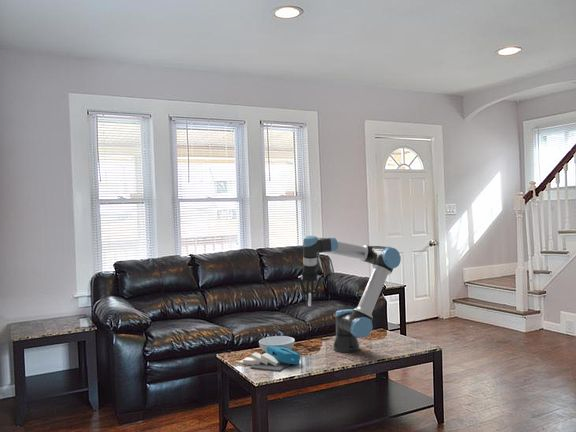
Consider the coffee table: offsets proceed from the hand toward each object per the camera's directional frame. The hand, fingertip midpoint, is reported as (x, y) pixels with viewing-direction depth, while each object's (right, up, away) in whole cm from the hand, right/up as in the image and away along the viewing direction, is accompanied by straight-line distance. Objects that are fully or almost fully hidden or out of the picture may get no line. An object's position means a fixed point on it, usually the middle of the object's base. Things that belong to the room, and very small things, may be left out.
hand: (309, 305), depth 282 cm
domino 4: (-17, -29, -12) cm, 35 cm away
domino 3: (-22, -29, -9) cm, 37 cm away
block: (-9, -26, -14) cm, 30 cm away
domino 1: (-29, -30, -7) cm, 42 cm away
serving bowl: (-18, -30, +16) cm, 39 cm away
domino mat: (-21, -30, -10) cm, 38 cm away
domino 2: (-26, -29, -8) cm, 39 cm away
